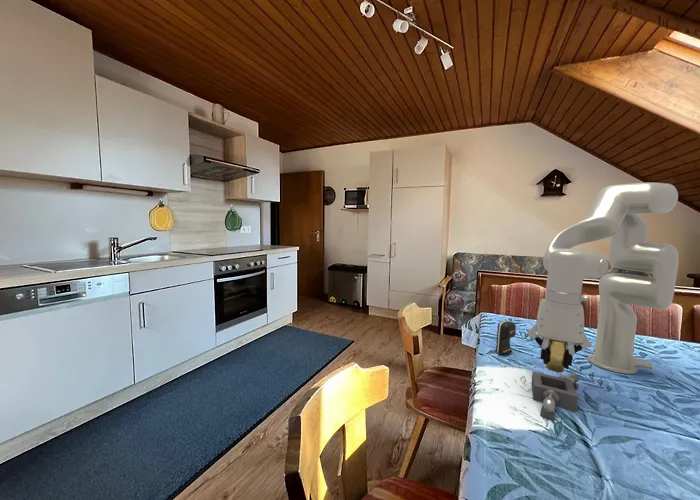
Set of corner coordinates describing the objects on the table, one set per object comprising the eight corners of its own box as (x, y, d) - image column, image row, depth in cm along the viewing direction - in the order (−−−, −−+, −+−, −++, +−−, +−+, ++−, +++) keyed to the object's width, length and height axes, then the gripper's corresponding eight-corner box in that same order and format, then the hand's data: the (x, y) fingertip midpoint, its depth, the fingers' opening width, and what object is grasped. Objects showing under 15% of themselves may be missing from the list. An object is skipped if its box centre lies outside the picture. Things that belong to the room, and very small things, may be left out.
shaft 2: (568, 395, 81) (570, 380, 80) (554, 389, 84) (555, 374, 83) (580, 388, 84) (582, 374, 84) (566, 382, 87) (567, 369, 87)
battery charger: (505, 356, 104) (508, 325, 103) (494, 352, 107) (497, 322, 106) (515, 352, 108) (517, 322, 107) (504, 348, 111) (507, 319, 110)
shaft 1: (541, 402, 77) (543, 386, 76) (558, 408, 75) (560, 392, 74) (538, 415, 71) (539, 398, 71) (555, 422, 69) (557, 405, 69)
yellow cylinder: (562, 367, 79) (565, 339, 79) (564, 374, 76) (568, 344, 75) (545, 363, 81) (548, 335, 81) (546, 369, 78) (549, 340, 77)
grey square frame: (570, 394, 81) (571, 380, 81) (576, 412, 73) (577, 396, 73) (531, 384, 86) (532, 371, 85) (533, 400, 78) (534, 385, 77)
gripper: (599, 300, 76) (591, 367, 78) (525, 290, 84) (519, 352, 86) (607, 306, 70) (598, 380, 71) (526, 295, 78) (519, 361, 79)
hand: (555, 364), depth 79 cm, fingers closed on yellow cylinder, 4 cm apart
